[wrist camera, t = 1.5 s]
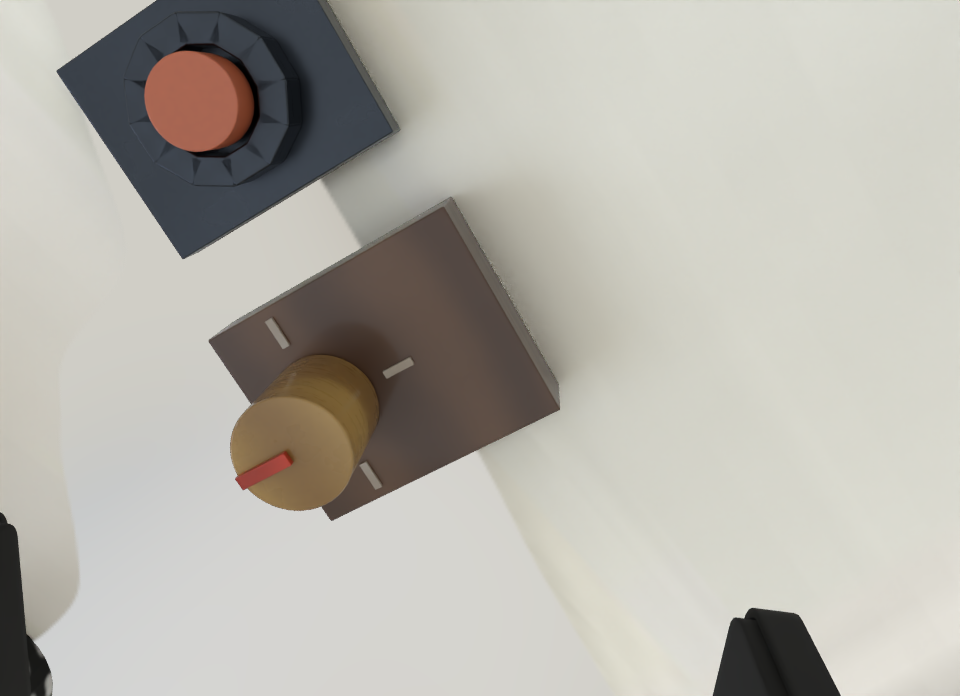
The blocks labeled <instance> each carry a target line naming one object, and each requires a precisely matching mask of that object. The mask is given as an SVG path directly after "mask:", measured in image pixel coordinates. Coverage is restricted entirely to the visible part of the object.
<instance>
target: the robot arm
mask: <svg viewBox="0 0 960 696" xmlns="http://www.w3.org/2000/svg"><path fill="white" fill-rule="evenodd" d="M0 696H31V683H30V672H29V660H28V649H27V638H26V626H25V615H24V604H23V592H22V581H21V570H20V558H19V547H18V536H17V531H16V529H15V527H14V526H13V525H11V524H7V520H6V518H5V516H4V515H3V514H2V513H1V512H0ZM713 696H841V695H840V693H839V691H838V689H837V687H836V685H835V683H834V681H833V680H832V678H831V676H830V674H829V672H828V670H827V668H826V666H825V664H824V662H823V660H822V658H821V656H820V654H819V652H818V650H817V648H816V646H815V644H814V642H813V641H812V639H811V637H810V635H809V633H808V631H807V629H806V627H805V625H804V623H803V621H802V619H801V618H800V617H799V615H797V614H795V613H788V612H781V611H773V610H765V609H757V608H751V609H749V610H748V612H747V613H746V615H745V618H744V619H743V618H734V619H733V620H732V621H731V623H730V626H729V630H728V634H727V639H726V643H725V647H724V651H723V655H722V659H721V664H720V668H719V672H718V676H717V680H716V684H715V689H714V693H713Z"/></svg>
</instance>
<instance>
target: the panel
mask: <svg viewBox="0 0 960 696" xmlns="http://www.w3.org/2000/svg"><path fill="white" fill-rule="evenodd" d="M209 343H210V344H211V346H212V347H213V349H214V350H215V352H216V353H217V354H218V356H219V357H220V359H221V360H222V362H223V363H224V365H225V366H226V368H227V369H228V371H229V372H230V374H231V375H232V377H233V378H234V380H235V381H236V382H237V384H238V385H239V387H240V388H241V390H242V391H243V393H244V394H245V396H246V397H247V398H248V400H249V401H250V403H251V404H252V403H253V402H254V401H255V400H256V399H257V398H258V397H259V396H260V395H261V394H262V393H263V392H264V390H265V389H266V388H267V387H268V386H269V385H270V384H271V383H272V382H273V381H274V380H275V379H276V378H277V377H278V376H279V374H280V373H281V372H282V371H283V370H284V369H285V368H286V367H288V366H289V365H290V364H291V363H293V362H295V361H296V360H299V359H301V358H304V357H307V356H312V355H329V356H334V357H338V358H340V359H343V360H345V361H347V362H349V363H351V364H353V365H354V366H356V367H357V368H358V369H359V370H361V371H362V372H363V373H364V374H365V376H366V377H367V378H368V379H369V381H370V382H371V384H372V385H373V387H374V389H375V392H376V394H377V398H378V402H379V418H378V423H377V426H376V428H375V430H374V432H373V434H372V436H371V438H370V440H369V442H368V444H367V446H366V448H365V450H364V452H363V454H362V456H361V458H360V460H359V462H358V464H357V466H356V468H355V470H354V472H353V474H352V476H351V478H350V480H349V482H348V484H347V486H346V487H345V489H344V490H343V491H342V492H341V493H340V495H339V496H338V497H336V498H335V499H334V500H332V501H331V502H329V503H327V504H326V505H323V506H321V507H322V508H323V510H324V511H325V513H326V514H327V516H328V517H329V519H330V520H331V521H332V520H334V519H337V518H339V517H341V516H343V515H345V514H347V513H349V512H351V511H353V510H355V509H357V508H359V507H361V506H363V505H365V504H367V503H369V502H371V501H373V500H376V499H377V498H380V497H381V496H384V495H386V494H388V493H390V492H392V491H394V490H396V489H398V488H400V487H402V486H404V485H406V484H408V483H410V482H412V481H414V480H417V479H419V478H421V477H423V476H425V475H427V474H429V473H431V472H433V471H435V470H437V469H439V468H441V467H443V466H445V465H447V464H449V463H451V462H454V461H456V460H458V459H460V458H462V457H464V456H466V455H468V454H470V453H472V452H474V451H476V450H478V449H480V448H482V447H484V446H486V445H488V444H490V443H493V442H495V441H497V440H499V439H501V438H503V437H505V436H507V435H509V434H511V433H513V432H515V431H517V430H519V429H521V428H523V427H525V426H527V425H529V424H532V423H534V422H536V421H538V420H540V419H542V418H544V417H546V416H548V415H550V414H552V413H554V412H556V411H558V410H560V400H559V384H558V382H557V381H556V379H555V377H554V375H553V374H552V372H551V370H550V368H549V367H548V365H547V363H546V361H545V360H544V358H543V356H542V354H541V353H540V351H539V349H538V347H537V346H536V344H535V342H534V340H533V338H532V337H531V335H530V333H529V331H528V330H527V328H526V326H525V324H524V323H523V321H522V319H521V317H520V316H519V314H518V312H517V310H516V309H515V307H514V305H513V303H512V302H511V300H510V298H509V296H508V295H507V293H506V291H505V289H504V288H503V286H502V284H501V282H500V280H499V279H498V277H497V275H496V273H495V272H494V270H493V268H492V266H491V265H490V263H489V261H488V259H487V258H486V256H485V254H484V252H483V251H482V249H481V247H480V245H479V244H478V242H477V240H476V238H475V237H474V235H473V233H472V231H471V230H470V228H469V226H468V224H467V223H466V221H465V219H464V217H463V215H462V214H461V212H460V210H459V208H458V207H457V205H456V203H455V201H454V200H453V198H452V197H450V198H448V199H447V200H445V201H443V202H441V203H440V204H438V205H436V206H434V207H433V208H431V209H429V210H427V211H426V212H424V213H422V214H420V215H419V216H417V217H415V218H413V219H412V220H410V221H408V222H406V223H405V224H403V225H401V226H399V227H398V228H396V229H394V230H392V231H391V232H389V233H387V234H385V235H384V236H382V237H380V238H378V239H377V240H375V241H373V242H372V243H370V244H368V245H366V246H365V247H363V248H361V249H359V250H358V251H356V252H354V253H352V254H351V255H349V256H347V257H346V258H344V259H342V260H340V261H338V262H337V263H335V264H333V265H331V266H330V267H328V268H326V269H324V270H323V271H321V272H320V273H317V274H316V275H314V276H312V277H310V278H309V279H307V280H305V281H303V282H302V283H300V284H298V285H297V286H295V287H293V288H291V289H290V290H288V291H286V292H284V293H283V294H281V295H279V296H278V297H276V298H274V299H272V300H270V301H269V302H267V303H265V304H263V305H262V306H260V307H258V308H256V309H255V310H253V311H252V312H249V313H248V314H246V315H244V316H243V317H241V318H239V319H237V320H236V321H234V322H232V323H231V324H230V325H228V326H227V327H226V328H224V329H223V330H222V331H220V332H219V333H217V334H216V335H215V336H213V337H212V338H211V339H209Z"/></svg>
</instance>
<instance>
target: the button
mask: <svg viewBox="0 0 960 696" xmlns="http://www.w3.org/2000/svg"><path fill="white" fill-rule="evenodd" d="M144 96H145V105H146V110H147V113H148V116H149V118H150V121H151V122H152V124H153V126H154V127H155V129H156V130H157V132H158V133H159V134H160V135H161V136H162V137H163V138H164V139H165V140H167V141H168V142H169V143H171V144H172V145H174V146H176V147H178V148H180V149H183V150H187V151H192V152H203V151H209V150H214V149H220V148H225V147H228V146H230V145H232V144H234V143H236V142H237V141H239V140H240V139H241V138H242V137H243V136H244V135H245V133H246V132H247V130H248V129H249V127H250V125H251V122H252V119H253V115H254V98H253V93H252V89H251V87H250V84H249V82H248V80H247V78H246V77H245V75H244V74H243V73H242V71H241V70H240V69H239V68H238V67H237V66H236V65H235V64H234V63H232V62H231V61H229V60H228V59H226V58H224V57H222V56H219V55H217V54H212V53H204V52H196V51H178V52H174V53H171V54H169V55H167V56H165V57H164V58H162V59H161V60H160V61H158V63H157V64H156V65H155V66H154V67H153V69H152V70H151V72H150V74H149V76H148V78H147V81H146V86H145V95H144Z"/></svg>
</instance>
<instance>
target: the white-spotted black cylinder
mask: <svg viewBox="0 0 960 696" xmlns="http://www.w3.org/2000/svg"><path fill="white" fill-rule="evenodd" d="M26 638H27V649H28V660H29V672H30V683H31V696H52V685H53V682H52V677H51V671H50V669H49V666H48V664H47V661H46V659H45V657H44V656H43V654H42V653H41V651H40V649H39V648H38V647H37V646H36V644H35V643H34V642H33V641H32V640H31V639H30V638H29V637H28V636H27V635H26Z"/></svg>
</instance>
